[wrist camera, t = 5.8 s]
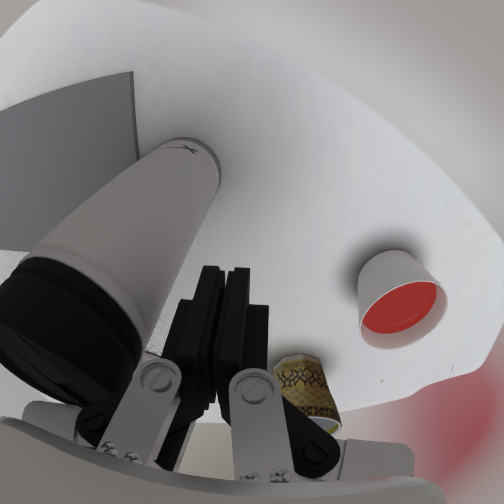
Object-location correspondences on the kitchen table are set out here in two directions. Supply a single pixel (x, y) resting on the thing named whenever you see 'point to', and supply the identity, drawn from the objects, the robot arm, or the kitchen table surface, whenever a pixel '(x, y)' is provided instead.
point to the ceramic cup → (308, 390)
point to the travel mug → (105, 276)
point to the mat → (62, 154)
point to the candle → (398, 301)
